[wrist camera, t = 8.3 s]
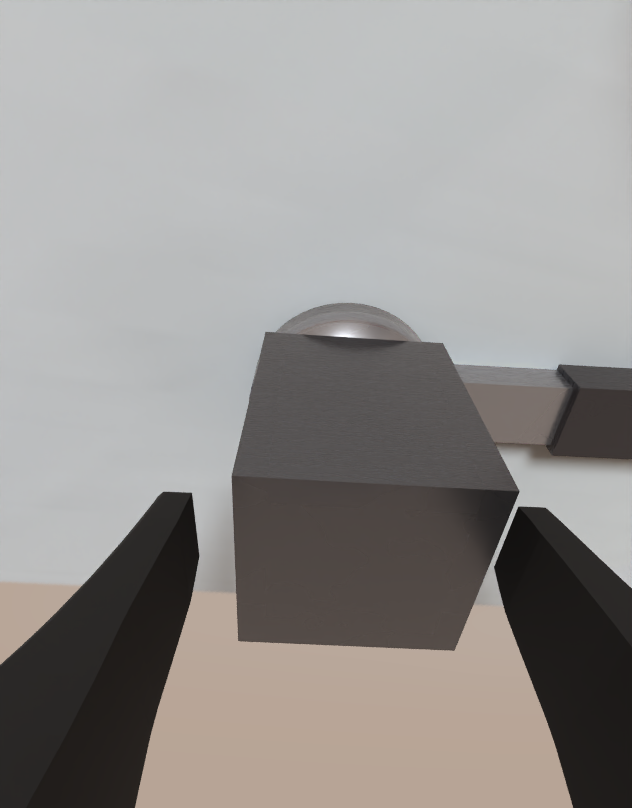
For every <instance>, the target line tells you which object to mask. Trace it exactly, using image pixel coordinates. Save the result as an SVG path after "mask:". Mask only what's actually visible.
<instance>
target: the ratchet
mask: <svg viewBox="0 0 632 808" xmlns="http://www.w3.org/2000/svg"><path fill="white" fill-rule="evenodd" d="M275 333H290V334H305V335H321V336H336V337H352V338H367V339H383V340H398V341H414V342H422V341H421V340H420V338H419V337H418V336H417V334H416V333H415V332H414V331H413V330H412V329H411V328H410V327H409V326H408V325H407V324H406V323H404V322H403V321H402V320H400V319H399V318H397V317H396V316H394V315H392V314H390V313H389V312H386V311H384V310H381V309H379V308H376V307H372V306H368V305H363V304H355V303H337V304H329V305H324V306H320V307H316V308H313V309H311V310H308V311H306V312H303V313H301V314H299V315H298V316H296V317H294V318H292V319H291V320H289V321H288V322H287V323H285V324H284V325H283V326H281V327H280V328H279V329H278V330H277V331H276V332H275ZM258 363H259V360H258ZM258 363H257V367H258ZM454 366H455V368H456V370H457V372H458V374H459V376H460V378H461V379H462V381H463V383H464V385H465V387H466V389H467V391H468V393H469V395H470V397H471V399H472V401H473V403H474V405H475V406H476V408H477V410H478V412H479V414H480V416H481V418H482V420H483V422H484V424H485V426H486V428H487V430H488V432H489V434H490V435H491V437H492V439H493V441H494V442H499V443H519V444H540V445H546V447H547V448H548V450H549V451H550V453H551V454H552V455H555V456H575V457H596V458H616V459H632V369H630V368H611V367H592V366H574V365H559V366H558V369H557V370H547V369H528V368H509V367H491V366H472V365H454ZM257 367H256V371H257ZM256 371H255V375H256ZM254 379H255V376H254ZM253 384H254V380H253ZM253 384H252V388H253ZM252 388H251V392H252ZM250 396H251V393H250ZM249 401H250V397H249Z"/></svg>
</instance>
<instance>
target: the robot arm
mask: <svg viewBox="0 0 632 808" xmlns="http://www.w3.org/2000/svg"><path fill="white" fill-rule="evenodd" d="M198 560H199V549H198V541H197V532H196V524H195V515H194V507H193V498H192V493H181V492H163V493H162V494H160V495H159V496H158V498H157V499H156V500H155V501H154V503H153V504H152V505H151V506H150V508H149V509H148V510H147V512H146V513H145V514H144V515H143V517H142V518H141V519H140V520H139V522H138V523H137V524H136V525H135V526H134V528H133V529H132V530H131V531H130V532H129V534H128V535H127V536H126V537H125V538H124V540H123V541H122V542H121V543H120V544H119V545H118V547H117V548H116V549H115V550H114V551H113V552H112V553H111V555H110V556H109V557H108V558H107V559H106V560H105V561H104V562H103V564H102V565H101V566H100V567H99V568H98V569H97V570H96V572H95V573H94V574H93V575H92V576H91V577H90V578H89V579H88V580H87V581H86V582H85V583H84V584H83V585H82V586H81V588H80V589H79V590H78V591H77V592H76V593H75V594H74V595H73V596H72V597H71V598H70V599H69V600H68V601H67V602H66V603H65V604H64V605H63V606H62V607H61V608H60V609H59V611H57V613H56V614H54V615H53V616H52V617H51V618H50V619H49V620H48V621H47V622H46V623H45V624H44V625H43V626H42V627H41V628H40V629H39V630H38V631H37V632H36V633H35V634H34V635H33V636H32V637H31V638H29V639H28V640H27V641H26V642H25V643H24V644H23V645H22V646H21V647H20V648H19V649H18V650H16V651H15V652H14V653H13V654H12V655H11V656H10V657H9V658H8V659H6V660H5V661H4V662H3V663H2V664H1V665H0V808H135V804H136V799H137V795H138V790H139V785H140V781H141V776H142V771H143V767H144V762H145V758H146V753H147V748H148V744H149V740H150V735H151V731H152V727H153V724H154V720H155V717H156V713H157V709H158V706H159V703H160V699H161V696H162V693H163V689H164V686H165V683H166V680H167V677H168V674H169V670H170V667H171V664H172V661H173V657H174V654H175V651H176V647H177V645H178V641H179V638H180V635H181V632H182V628H183V625H184V622H185V618H186V615H187V612H188V608H189V605H190V601H191V597H192V592H193V587H194V582H195V576H196V571H197V566H198ZM494 569H495V573H496V577H497V581H498V586H499V590H500V594H501V598H502V602H503V605H504V609H505V613H506V615H507V618H508V621H509V624H510V626H511V629H512V631H513V634H514V637H515V639H516V642H517V645H518V647H519V650H520V653H521V655H522V658H523V660H524V663H525V666H526V668H527V671H528V673H529V676H530V678H531V681H532V684H533V686H534V689H535V691H536V694H537V696H538V699H539V702H540V704H541V707H542V709H543V712H544V715H545V717H546V720H547V723H548V726H549V728H550V731H551V734H552V737H553V740H554V743H555V746H556V749H557V752H558V756H559V760H560V763H561V766H562V770H563V773H564V777H565V780H566V784H567V787H568V791H569V794H570V798H571V801H572V805H573V808H632V588H631V587H629V586H628V585H627V584H626V583H625V582H624V581H623V580H622V579H621V578H620V577H619V576H618V575H617V574H615V573H614V572H613V571H612V570H611V569H610V568H609V567H608V566H607V565H606V564H605V563H604V562H603V561H602V560H601V559H600V558H598V557H597V556H596V555H595V554H594V553H593V552H592V551H591V550H590V549H589V548H588V547H587V546H586V545H585V544H584V543H583V542H582V541H581V540H580V539H579V538H578V537H576V536H575V535H574V534H573V533H572V532H571V531H570V530H569V529H568V528H567V527H566V526H565V525H564V524H563V523H562V522H561V521H560V520H559V519H557V518H556V517H555V516H554V515H553V514H552V513H551V512H550V511H549V510H548V509H546V508H540V507H518V509H517V512H516V514H515V516H514V519H513V521H512V524H511V526H510V529H509V531H508V534H507V536H506V539H505V541H504V544H503V546H502V549H501V551H500V554H499V556H498V559H497V561H496V564H495V566H494Z"/></svg>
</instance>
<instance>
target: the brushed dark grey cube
mask: <svg viewBox="0 0 632 808" xmlns="http://www.w3.org/2000/svg"><path fill="white" fill-rule="evenodd" d="M232 494H233V519H234V544H235V569H236V594H237V619H238V641H248V642H270V643H294V644H316V645H339V646H362V647H363V646H364V647H386V648H409V649H431V650H453V651H454V650H455V647H456V645H457V643H458V641H459V638H460V636H461V633H462V631H463V628H464V626H465V623H466V621H467V618H468V616H469V614H470V611H471V609H472V606H473V604H474V601H475V599H476V597H477V594H478V592H479V589H480V587H481V584H482V582H483V579H484V577H485V575H486V572H487V570H488V567H489V565H490V562H491V560H492V557H493V555H494V553H495V550H496V548H497V545H498V543H499V540H500V538H501V535H502V533H503V531H504V528H505V526H506V523H507V521H508V518H509V516H510V513H511V511H512V509H513V506H514V504H515V501H516V499H517V496H518V494H519V490H518V488H517V486H516V484H515V482H514V480H513V478H512V476H511V474H510V472H509V470H508V468H507V466H506V464H505V462H504V461H503V459H502V457H501V455H500V453H499V451H498V449H497V447H496V445H495V443H494V441H493V439H492V437H491V435H490V434H489V432H488V430H487V428H486V426H485V424H484V422H483V420H482V418H481V416H480V414H479V412H478V410H477V408H476V406H475V405H474V403H473V401H472V399H471V397H470V395H469V393H468V391H467V389H466V387H465V385H464V383H463V381H462V379H461V378H460V376H459V374H458V372H457V370H456V368H455V366H454V364H453V362H452V360H451V358H450V356H449V354H448V352H447V350H446V349H445V347H444V345H443V343H430V342H414V341H398V340H383V339H367V338H352V337H336V336H321V335H305V334H290V333H274V332H266V333H265V337H264V341H263V346H262V350H261V354H260V358H259V363H258V367H257V371H256V375H255V379H254V384H253V388H252V392H251V396H250V401H249V405H248V409H247V413H246V418H245V422H244V426H243V430H242V435H241V439H240V443H239V447H238V451H237V456H236V460H235V464H234V468H233V473H232Z"/></svg>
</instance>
